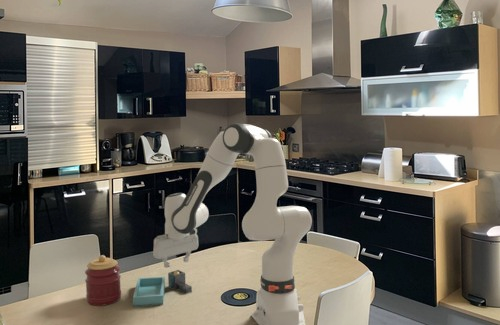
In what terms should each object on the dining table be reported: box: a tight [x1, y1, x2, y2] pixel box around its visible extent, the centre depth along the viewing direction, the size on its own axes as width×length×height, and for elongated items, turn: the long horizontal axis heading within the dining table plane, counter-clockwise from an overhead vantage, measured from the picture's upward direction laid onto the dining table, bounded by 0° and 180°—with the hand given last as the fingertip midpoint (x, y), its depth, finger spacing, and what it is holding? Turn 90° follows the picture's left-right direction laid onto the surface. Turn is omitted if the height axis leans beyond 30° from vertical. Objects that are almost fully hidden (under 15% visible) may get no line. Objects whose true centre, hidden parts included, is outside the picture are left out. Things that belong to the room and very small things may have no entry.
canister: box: [84, 254, 122, 306], centre depth 176 cm, size 13×13×18 cm
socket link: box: [167, 269, 193, 294], centre depth 187 cm, size 11×5×6 cm, turn 43°
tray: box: [132, 276, 166, 308], centre depth 181 cm, size 20×11×4 cm, turn 8°
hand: (176, 264), depth 189 cm, fingers open, 8 cm apart
